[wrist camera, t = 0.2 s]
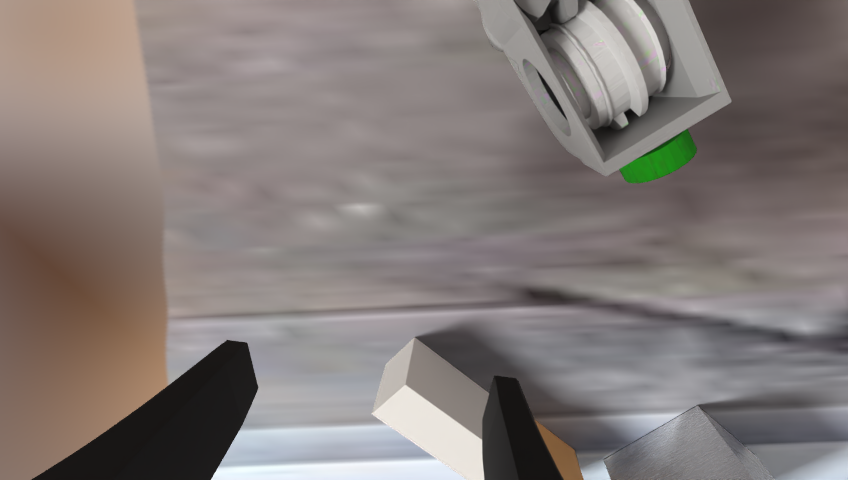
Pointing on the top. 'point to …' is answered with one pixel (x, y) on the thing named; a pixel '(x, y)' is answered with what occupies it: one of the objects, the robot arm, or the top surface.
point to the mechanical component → (612, 77)
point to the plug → (446, 412)
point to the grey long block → (687, 453)
